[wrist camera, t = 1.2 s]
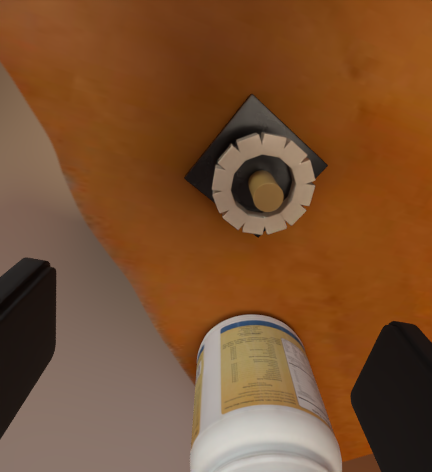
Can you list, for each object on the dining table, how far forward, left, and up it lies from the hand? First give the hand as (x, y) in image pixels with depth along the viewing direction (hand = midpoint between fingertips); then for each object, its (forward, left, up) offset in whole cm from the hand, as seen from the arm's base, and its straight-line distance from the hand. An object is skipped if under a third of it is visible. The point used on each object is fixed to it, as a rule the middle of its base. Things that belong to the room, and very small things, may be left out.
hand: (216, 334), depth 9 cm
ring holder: (-2, +2, -22) cm, 22 cm away
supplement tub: (+14, +16, -22) cm, 31 cm away
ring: (-2, +2, -17) cm, 18 cm away
